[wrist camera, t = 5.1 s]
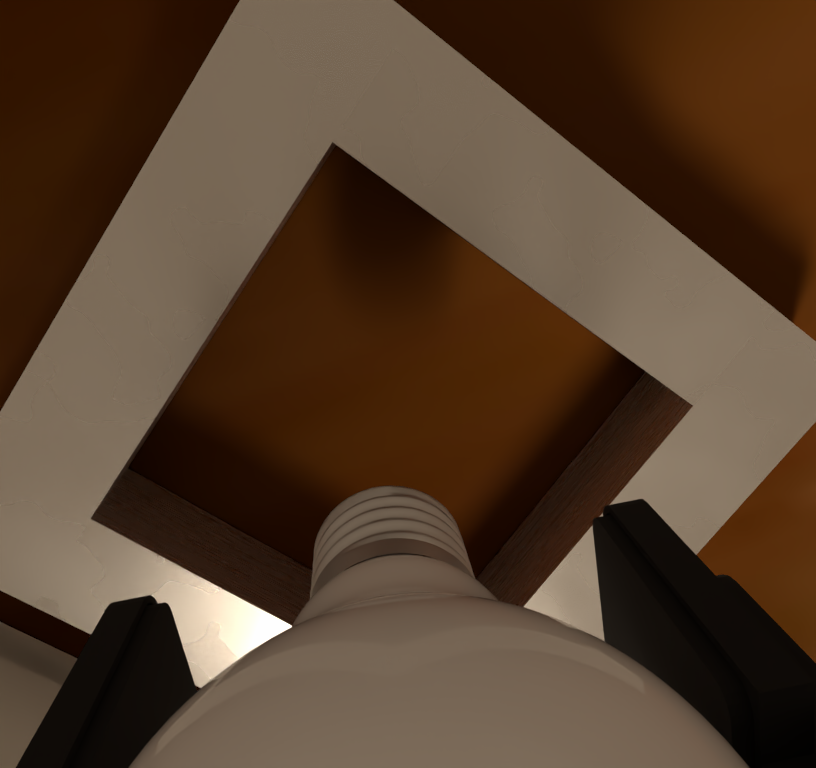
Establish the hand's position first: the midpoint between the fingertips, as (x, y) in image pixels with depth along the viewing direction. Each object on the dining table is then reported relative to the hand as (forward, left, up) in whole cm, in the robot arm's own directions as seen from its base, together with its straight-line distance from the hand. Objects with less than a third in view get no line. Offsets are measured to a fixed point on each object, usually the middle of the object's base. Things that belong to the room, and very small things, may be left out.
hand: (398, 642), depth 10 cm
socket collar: (0, -1, -7) cm, 7 cm away
